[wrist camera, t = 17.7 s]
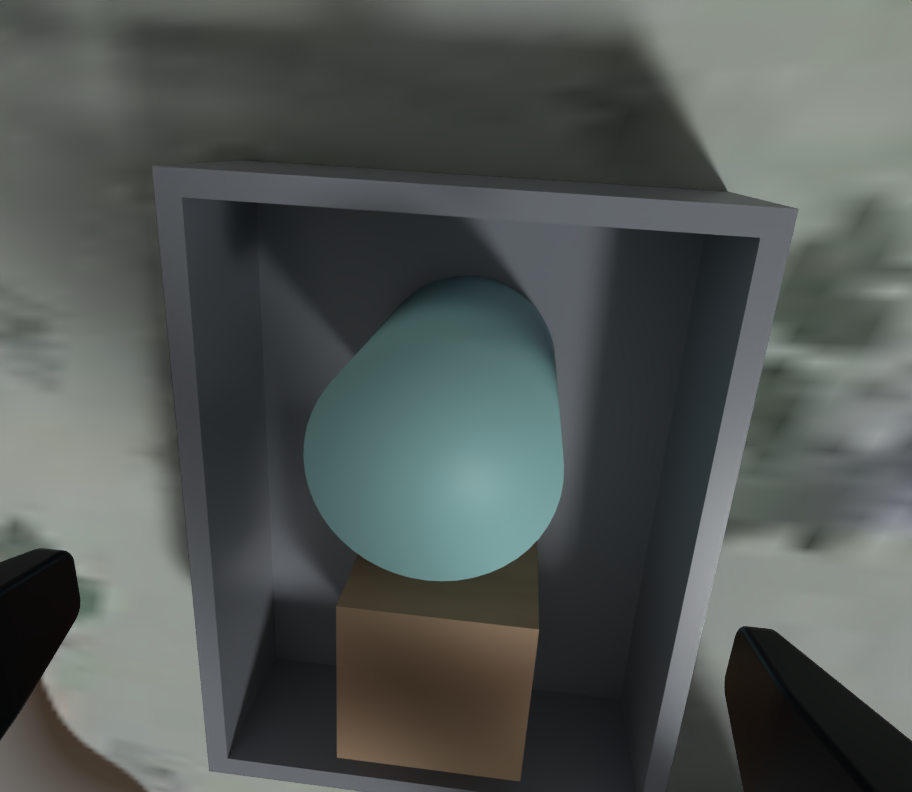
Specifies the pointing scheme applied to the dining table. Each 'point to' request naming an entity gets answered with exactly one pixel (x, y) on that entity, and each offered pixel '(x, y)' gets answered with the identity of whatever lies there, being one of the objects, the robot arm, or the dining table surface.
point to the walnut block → (437, 668)
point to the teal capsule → (442, 435)
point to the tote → (582, 427)
